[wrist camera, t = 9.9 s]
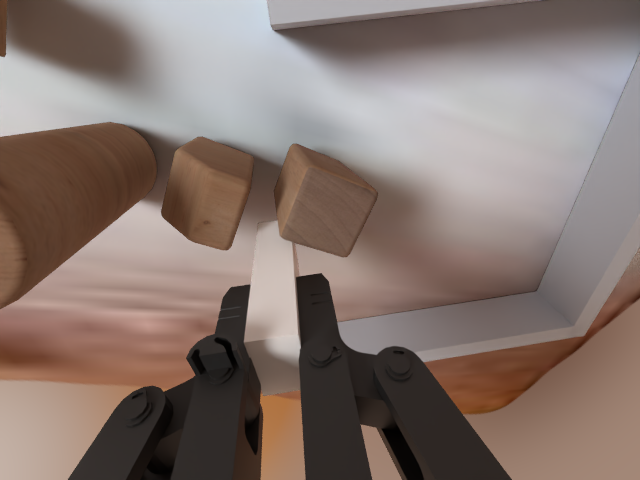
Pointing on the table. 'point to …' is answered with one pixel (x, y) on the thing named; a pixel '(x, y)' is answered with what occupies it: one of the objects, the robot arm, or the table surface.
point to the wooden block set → (138, 179)
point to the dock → (569, 255)
